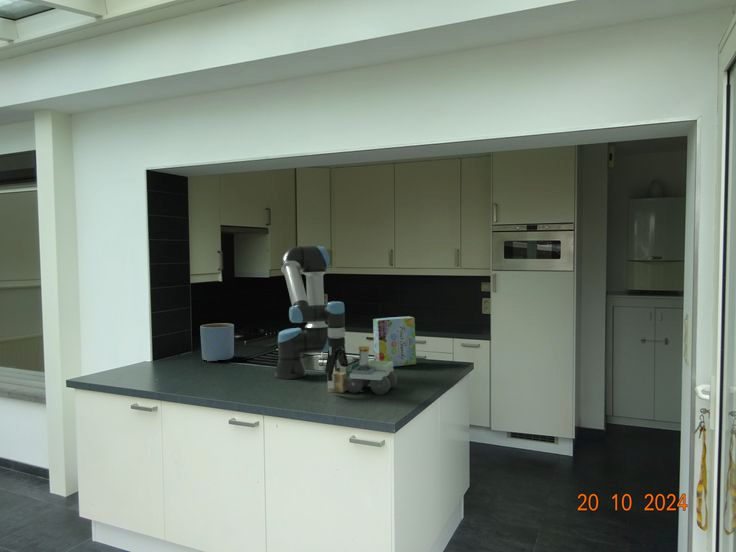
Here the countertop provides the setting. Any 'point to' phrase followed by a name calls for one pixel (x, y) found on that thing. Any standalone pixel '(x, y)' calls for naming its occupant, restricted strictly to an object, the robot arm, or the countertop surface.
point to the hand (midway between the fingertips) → (337, 384)
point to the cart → (363, 378)
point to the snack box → (395, 340)
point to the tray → (381, 365)
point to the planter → (217, 341)
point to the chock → (339, 382)
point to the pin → (364, 358)
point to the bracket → (351, 369)
